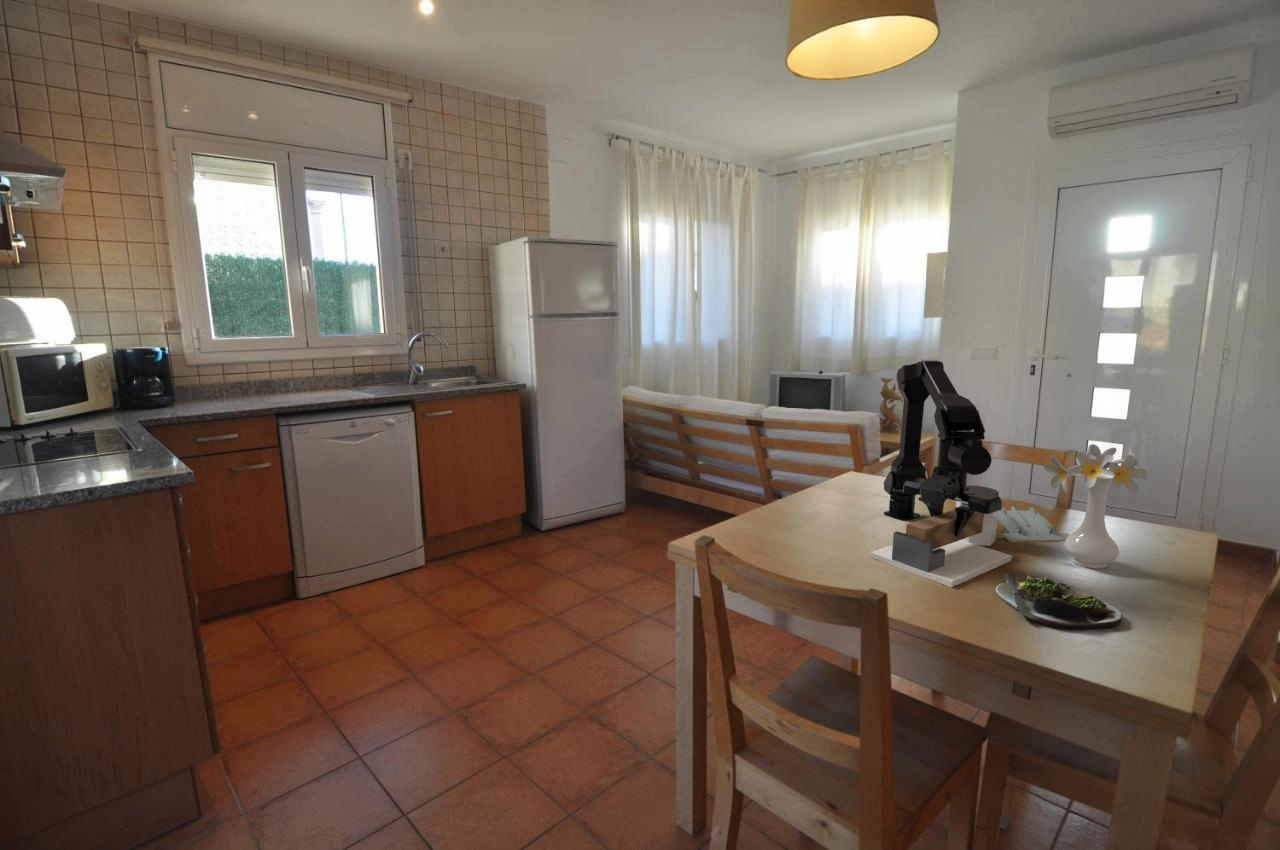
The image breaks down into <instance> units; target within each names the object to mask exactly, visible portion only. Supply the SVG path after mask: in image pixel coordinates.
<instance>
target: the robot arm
mask: <svg viewBox="0 0 1280 850" xmlns="http://www.w3.org/2000/svg"><path fill="white" fill-rule="evenodd" d="M896 382H897V389H898V391H899V392H900V394H901V397H902V398H903V405H902V406H903V407H902V416H901V429H900V439H899V440H900V442H899V452H898V455H897V456H896V458H895V459H894V460H892V463H890V464H891V465H890V471H888V473H887V475H886V477H885V479H884V481H883V491H885V492H886V494H888V495H889V496H890V497H889V505H888V510H886V511H884V512H883V515H886V516H889V517H892V518H896V519H899V520H903V521H909V520H911V519H914V518H917V517H920V513H917V512H915V510H916V509H915V507H916V496H919V497H918V499H917V500H918V501H920V502H922V503H923V504H924V505H925V506H926V508H927V510H928V512H929V514H930V517H932V516H936V515H939V514H942V513H944V505H945V502H946V500H951V501H955V502H956V501H960V502H961V506H959V507H956V506H955V507H954V510H955V511H956V513H957V516H956V524H955V536H956V537H958V536H959V535H960V534H961V532H962V530H963V529H964V527H965V525H966V524H967V522H968V521H969V519H970V518H971V516H972V515H973V514H974V513H975V512H979V513H983V514H990V513H993V512H996V511H1000V510H1001V509H1002V508H1003V507H1002V506H1003V501H1002V499H1001V497H1000V496H996V495H992V494H987V493H983V492H982V493H979V494H975V495H970V494H966V492H968V491H969V486H970V485H967V482H968V474H969V475H972V476H979V475H982V474H984V473H985V472H987V471H988V470H989V469H990V467H991V466H992V462H993V461H992V457H991V453H990V452H989V450H988V449H987V448H985V447H984V446H983V440H985V439H986V436H985V432H986V429H985V426H984V423H983V421H982V418H981V416H980V412H979V410H978V408H977V406H975V404H974V403H973V402H972V401H971V400H970V399H969V398H966V397H965V396H962V395H960V394H959V393H958V392H957V390H956V388H955V387H954V384H953V383H952V381H951V380H950V378H949V376H948V375H947V373H946V371H945V369H944V363H943V361H940V360H921V361H918V362H916V363H911V364H903V365H902V366H901V368H898V370H897V373H896ZM929 397H931V399H932V401H933V403H934V405H935V407H936V408H935V411H934V415H933V418H934V423H935V426H936V429H937V430H938V434H937V437H938V439H939V441H938V442H939V443H938V455H937V456H938V458H937V465H936V466H933V470H932V474H931V476H930V477H928V478H927V475H926V472H927V468H926V467H925V465H924V464H923V463H922V461H921V459H920V451H921V441H922V431H923V422H924V421H923V420H924V411H925V402H926V401H927V400H928V398H929ZM958 496H959V497H958Z"/></svg>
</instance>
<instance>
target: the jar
mask: <svg viewBox="0 0 1280 850" xmlns="http://www.w3.org/2000/svg"><path fill="white" fill-rule="evenodd" d="M968 486H969V491H968V492H966V494H970V495H975V494H979V493H982V492H983V493H987V494H992V495H996V496H999V495H1000V493H999V491H998V490H996V489H994V488H991V487H986V486H981V485H968ZM957 497H959V496H957ZM999 497H1000V496H999ZM959 506H961V502H960V501H956V500H955V508H956V507H959ZM997 526H998V511H996V512H993V513H990V514H984V519H983V530H982V533H979V534H976V535H973V536H970V537H968V538H965V539H962V541H965V542H969V543H972V544H975V545H979V546H980V545H981V546H982V547H992V545H993V544H994V543H995V542H996V539H997V538H996V537H997V529H998V527H997Z"/></svg>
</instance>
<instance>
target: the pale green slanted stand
mask: <svg viewBox="0 0 1280 850" xmlns="http://www.w3.org/2000/svg"><path fill="white" fill-rule="evenodd" d="M1010 507H1011V508H1010V510H1006V508H1005V507H1002V509H1001V510H999V511H998V519H997V521H999V523H1000V524H1001V525H1002V526H1003V528H1004V529H1006V531H1008V532H1007V533H1006V532H1005V533H1003V534H1002V537H1004V538H1005V539H1006V540H1007V541H1008V542H1009V543H1025V542H1026V541H1039V542H1060V541H1065V539H1066V538H1067V537H1068V536H1069V535H1070V534H1069V533H1068V532H1058V531H1057V530H1056V529H1055V528H1054V525H1052V524H1051V523H1050V521H1048V520H1047V519H1046V518H1045V517H1044V516H1042V515H1041V514H1039V512H1038V511H1037V510H1036V508H1035V507H1029V510H1017V509H1016V508H1015V506H1014V505H1011V506H1010ZM1026 543H1027V542H1026Z"/></svg>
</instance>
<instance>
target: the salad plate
mask: <svg viewBox="0 0 1280 850" xmlns="http://www.w3.org/2000/svg"><path fill="white" fill-rule="evenodd" d="M1004 577H1005V581H1006V582H1002V583H999V584H998V585H997V586H996V588H995V593H996V594H997V595H998V596H999V597H1000V598H1001V599H1002V600H1003V601H1004V602H1006V603H1007V604H1008V605H1010V606H1011V607H1013V608H1014V609H1015V610H1016V611H1017V612H1019V613H1020V614H1021V615H1022V616H1023V617H1025V618H1027V619H1029V620H1031V621H1032V622H1035V623H1037V624H1040V625H1043V626H1046V627H1050V628H1055V629H1059V630H1067V631H1088V630H1089V631H1090V630H1092V631H1093V630H1095V631H1096V630H1107V629H1110V628H1114V627H1116V626H1118V625H1120V624H1121V623H1122V619H1123V616H1122V615H1123V614H1122V612H1121V611H1120V609H1118V608H1116V607H1115V606H1113V605H1111V604H1109V603H1107V602H1105V601H1103V600H1101V599H1099V598H1097V597H1095V596H1093V595H1092V594H1091V593H1088V592H1087V591H1085V590H1083V589H1081V588H1080V587H1077V586H1074V585H1071V584H1068V583H1065V582H1064V583H1063V582H1059V581H1054V580H1053V579H1051V578H1047V577H1045V578H1038V577H1036V578H1032V577H1031V575H1027V576H1026V580H1025V581H1022V582H1021V581H1019V580H1018V579H1017V576H1016V575H1015V574H1012V573H1006V574H1005V575H1004Z"/></svg>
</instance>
